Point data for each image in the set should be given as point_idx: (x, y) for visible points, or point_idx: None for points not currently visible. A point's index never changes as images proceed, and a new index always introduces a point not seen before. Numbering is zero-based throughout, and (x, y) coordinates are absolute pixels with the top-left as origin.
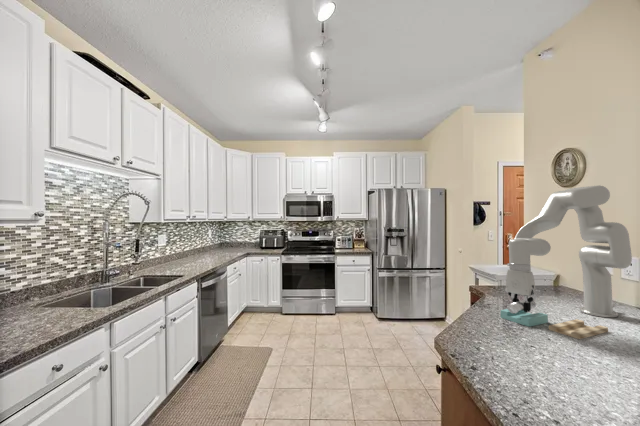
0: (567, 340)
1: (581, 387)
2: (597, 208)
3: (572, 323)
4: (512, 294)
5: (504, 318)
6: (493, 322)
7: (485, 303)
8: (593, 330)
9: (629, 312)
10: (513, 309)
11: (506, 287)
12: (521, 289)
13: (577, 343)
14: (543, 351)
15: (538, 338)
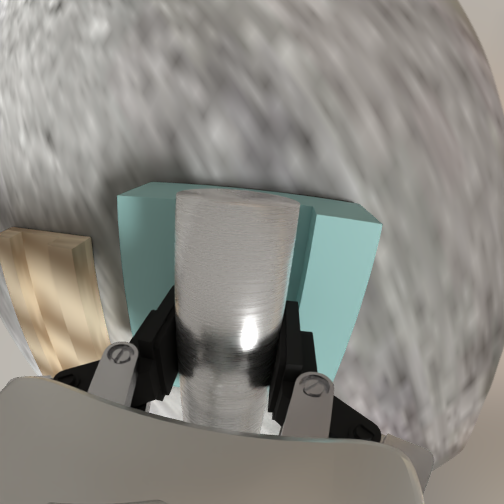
0: (25, 200)
1: None
2: None
3: (80, 362)
4: (308, 427)
5: (332, 202)
6: (352, 98)
7: (479, 380)
8: (23, 329)
9: None
10: (221, 195)
11: (412, 498)
12: (47, 471)
13: (9, 203)
14: (29, 17)
15: (67, 97)
